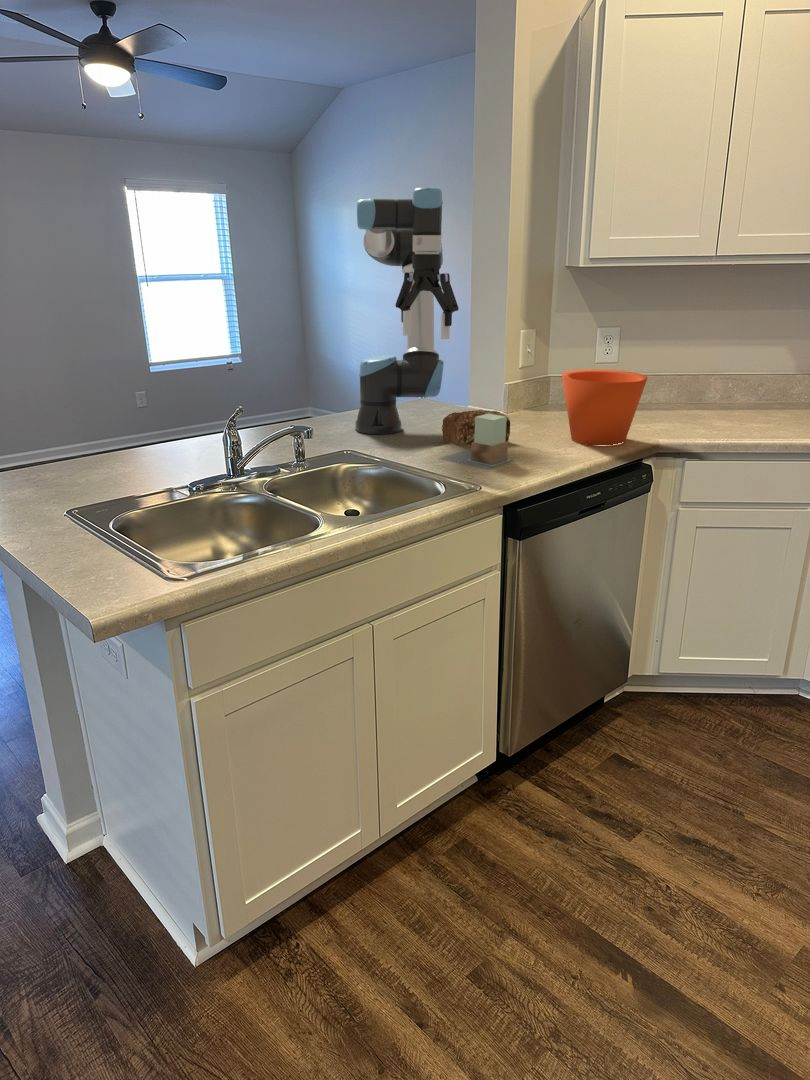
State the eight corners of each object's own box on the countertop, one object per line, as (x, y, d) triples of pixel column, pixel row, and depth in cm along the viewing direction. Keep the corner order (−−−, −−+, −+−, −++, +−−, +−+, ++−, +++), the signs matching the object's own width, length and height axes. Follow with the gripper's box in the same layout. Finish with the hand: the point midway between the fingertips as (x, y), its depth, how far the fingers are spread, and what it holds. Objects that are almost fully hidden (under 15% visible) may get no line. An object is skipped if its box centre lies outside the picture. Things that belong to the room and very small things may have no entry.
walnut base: (470, 460, 203) (471, 442, 201) (486, 455, 208) (487, 437, 206) (491, 465, 199) (492, 446, 197) (506, 459, 204) (507, 442, 202)
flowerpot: (571, 427, 246) (576, 367, 239) (648, 436, 235) (656, 373, 228) (545, 443, 226) (550, 377, 219) (628, 454, 215) (635, 385, 207)
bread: (456, 450, 219) (457, 416, 215) (440, 442, 228) (441, 409, 225) (511, 444, 226) (512, 411, 222) (493, 436, 235) (495, 405, 231)
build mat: (437, 462, 206) (438, 457, 205) (466, 453, 214) (466, 449, 214) (487, 474, 195) (487, 469, 194) (515, 464, 204) (516, 459, 203)
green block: (474, 442, 201) (475, 416, 199) (487, 438, 205) (488, 413, 203) (492, 446, 198) (493, 420, 195) (505, 442, 202) (506, 416, 199)
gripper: (382, 253, 199) (383, 334, 207) (455, 253, 184) (452, 341, 191) (401, 253, 204) (401, 332, 212) (473, 253, 189) (470, 339, 197)
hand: (425, 337), depth 202 cm, fingers open, 13 cm apart
